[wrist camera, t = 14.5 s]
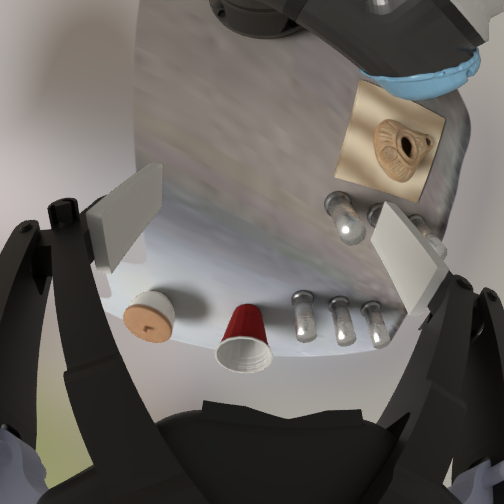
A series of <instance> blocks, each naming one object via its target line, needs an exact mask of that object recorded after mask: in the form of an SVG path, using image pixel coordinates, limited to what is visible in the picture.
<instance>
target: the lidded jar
mask: <svg viewBox="0 0 504 504" xmlns="http://www.w3.org/2000/svg"><path fill="white" fill-rule="evenodd" d="M123 320H124V323H125V325H126V327H127V328H128V329H129V330H130V331H131V332H132V333H133V334H134V335H135V336H137V337H139V338H140V339H143V340H145V341H148V342H153V343H161V342H164V341H167V340H168V339H169V338H170V337H171V334H172V329H173V326H174V321H175V312H174V308H173V306H172V304H171V302H170V301H169V299H168V298H167V297H166V296H165V295H164V294H162V293H161V292H158V291H147V292H143V293H140V294H139V295H137V296H136V297H135V298H134V299H133V300H132V301H131V303H130V304H129V306H128V308H127V309H126V310H125V312H124V314H123Z"/></svg>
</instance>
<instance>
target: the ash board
mask: <svg viewBox="0 0 504 504" xmlns="http://www.w3.org/2000/svg"><path fill="white" fill-rule="evenodd" d="M386 119H391V120H395V121H398V122H399V123H401V124H402V125H404V126H405V127H407V128H409V129H411V130H414V131H418V132H421V133H424V134H428V135H430V136H431V138H432V139H433V141H434V146H433V148H432V149H431V150H430V151H429V152H428V153H427V154H426V155H425V156H424V158H423V159H422V160H421V162H420V163H419V164H418V167H417V169H416V171H415V173H414V175H413V176H412V178H411V179H410V180H408V181H407V182H405V183H400V182H397V181H394V180H392V179H391V178H389V177H388V176H387V174H386V173H385V172H384V171H383V170H382V168H381V167H380V165H379V163H378V161H377V158H376V155H375V150H374V143H373V136H374V131H375V129H376V127H377V126H378V124H379V123H380V122H382V121H383V120H386ZM444 122H445V119H444V118H443V117H441V116H439V115H437V114H435V113H434V112H432V111H430V110H428V109H426V108H424V107H422V106H420V105H418V104H416V103H414V102H412V101H410V100H404V99H401V98H398V97H395V96H393V95H391V94H389V93H388V92H387V91H386V90H384V89H383V88H381V87H379V86H376V85H374V84H371V83H368V82H366V81H363V80H359V85H358V89H357V93H356V97H355V101H354V105H353V109H352V113H351V117H350V121H349V125H348V128H347V132H346V136H345V139H344V143H343V146H342V150H341V154H340V157H339V160H338V164H337V167H336V171H335V174H334V176H335V178H339V179H343V180H346V181H350V182H353V183H357V184H360V185H364V186H367V187H370V188H374V189H377V190H380V191H383V192H386V193H389V194H392V195H395V196H398V197H401V198H404V199H407V200H410V201H413V202H416V203H417V202H418V200H419V197H420V195H421V192H422V189H423V187H424V184H425V181H426V179H427V176H428V173H429V170H430V167H431V165H432V162H433V159H434V156H435V153H436V149H437V146H438V143H439V140H440V136H441V133H442V129H443V126H444Z"/></svg>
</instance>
